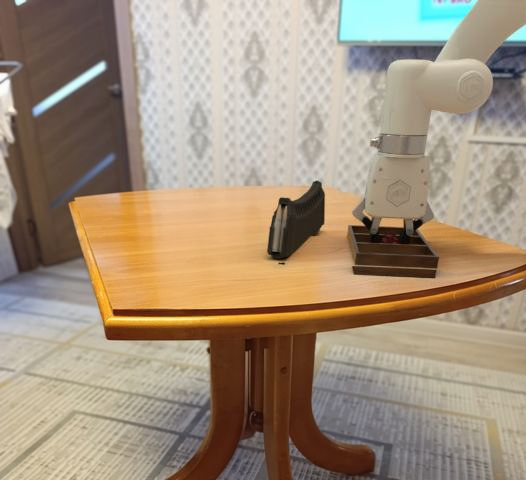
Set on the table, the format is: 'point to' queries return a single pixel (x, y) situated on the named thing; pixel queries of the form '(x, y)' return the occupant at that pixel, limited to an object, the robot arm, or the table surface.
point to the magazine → (296, 222)
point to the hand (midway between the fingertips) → (387, 254)
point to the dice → (389, 239)
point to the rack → (391, 254)
